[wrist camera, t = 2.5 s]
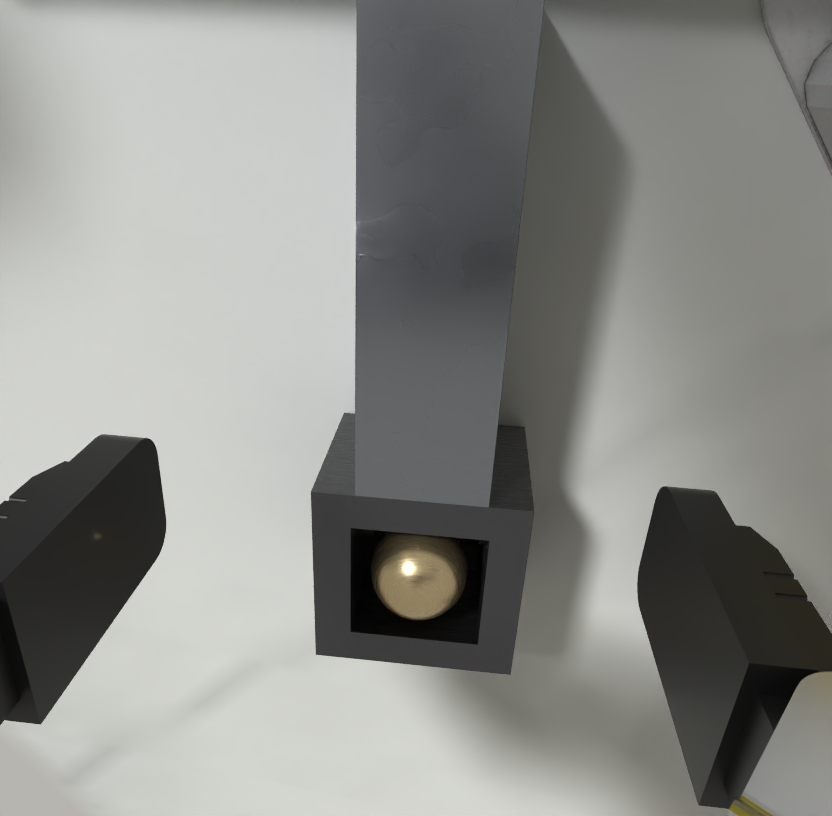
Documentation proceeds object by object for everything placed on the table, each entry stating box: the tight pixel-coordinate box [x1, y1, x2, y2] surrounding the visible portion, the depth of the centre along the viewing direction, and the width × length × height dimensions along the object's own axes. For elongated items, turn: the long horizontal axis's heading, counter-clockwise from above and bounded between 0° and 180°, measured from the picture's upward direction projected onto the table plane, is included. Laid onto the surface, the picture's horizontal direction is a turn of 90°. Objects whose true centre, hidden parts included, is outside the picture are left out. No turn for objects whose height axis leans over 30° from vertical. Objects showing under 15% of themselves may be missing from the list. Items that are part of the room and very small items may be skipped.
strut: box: [311, 0, 544, 675], centre depth 16 cm, size 15×5×4 cm, turn 177°
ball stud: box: [371, 532, 467, 620], centre depth 18 cm, size 2×2×4 cm
